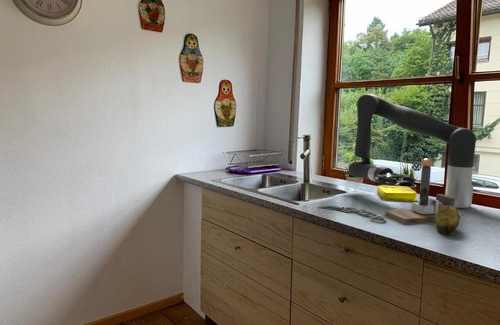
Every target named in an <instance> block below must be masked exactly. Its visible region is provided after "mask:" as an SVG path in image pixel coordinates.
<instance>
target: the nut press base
mask: <svg viewBox="0 0 500 325" xmlns="http://www.w3.org/2000/svg"><path fill="white" fill-rule="evenodd" d="M435 197H436V198H435V200H438V201H439V202H441V203H443V205H444V206H445V205H449V206H453V207H454V206H455V198H453V197H450V196H446V195H445V194H442V193H437V194H436V196H435ZM384 216H385V217H386V218H389V219H391V220H394V221H395V222H398V223H400V224H403V225H414V224H415V225H416V224H429V223H430V224H431V223H435V221H436V220H435V218H436V214H420V213H418V212H415V211H412V208H411V209H395V210H394V209H393V210H385V215H384Z"/></svg>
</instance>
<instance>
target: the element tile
mask: <svg viewBox="0 0 500 325" xmlns="http://www.w3.org/2000/svg"><path fill="white" fill-rule="evenodd" d="M376 195H377V196H379V198H380V199H381V200H384V201H393V200H394V202H395V201H398V202H416V201H417V198H418V196H417V192H416V191H415V190H413V189H412V188H410V187H409V186H402V185H401V186H400V185H397V186H396V185H384V184H381V185H377V186H376Z"/></svg>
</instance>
